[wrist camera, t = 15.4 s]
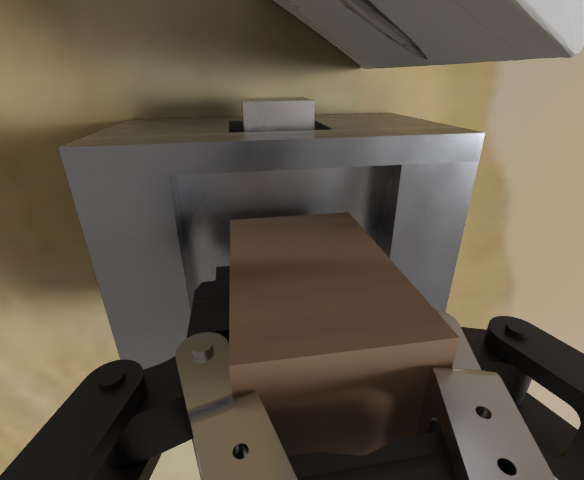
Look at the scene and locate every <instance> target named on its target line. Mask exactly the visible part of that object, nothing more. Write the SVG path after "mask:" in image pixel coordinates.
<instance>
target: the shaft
mask: <svg viewBox="0 0 584 480" xmlns="http://www.w3.org/2000/svg"><path fill="white" fill-rule="evenodd" d="M241 110H242V125H243V132H269V131H301V130H314V122H315V100H311V99H307V98H304V97H274V98H241Z"/></svg>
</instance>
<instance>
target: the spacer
mask: <svg viewBox="0 0 584 480" xmlns="http://www.w3.org/2000/svg"><path fill="white" fill-rule="evenodd" d="M459 338H460V337H459V336H458V335H457V334H456V333H455V332H454V330H453V329H452V328H451V327H450V326H449V325H448V324H447V323H446V321H445V320H444V319H443V318H442V317H441V316H440V315H439V314H438V312H437V311H436V310H435V309H434V308H433V307H432V306H431V305H430V303H429V302H428V301H427V300H426V299H425V298H424V297H423V296H422V294H421V293H420V292H419V291H418V290H417V289H416V288H415V287H414V285H413V284H412V283H411V282H410V281H409V280H408V279H407V278H406V276H405V275H404V274H403V273H402V272H401V271H400V270H399V268H398V267H397V266H396V265H395V264H394V263H393V262H392V261H391V259H390V258H389V257H388V256H387V255H386V254H385V253H384V252H383V250H382V249H381V248H380V247H379V246H378V245H377V244H376V243H375V241H374V240H373V239H372V238H371V237H370V236H369V235H368V234H367V232H366V231H365V230H364V229H363V228H362V227H361V226H360V225H359V223H358V222H357V221H356V220H355V219H354V218H353V217H352V216H351V214H350V213H349V212H345V213H330V214H315V215H299V216H284V217H268V218H253V219H237V220H230V298H229V371H230V380H231V388H232V397H235V396H238V395H241V394H244V393H247V392H251V391H254V390H255V391H256V392H257V394H258V395H259V397H260V399H261V402H262V404H263V406H264V408H265V410H266V412H267V415H268V417H269V419H270V421H271V423H272V425H273V427H274V430H275V432H276V434H277V436H278V438H279V440H280V443H281V445H282V447H283V449H284V451H285V453H286V455H287V456H291V455H297V454H303V453H310V452H316V451H317V452H327V453H338V454H348V455H359V456H363V455H367V454H369V453H371V452H373V451H375V450H377V449H379V448H381V447H383V446H385V445H387V444H389V443H391V442H393V441H395V440H398V439H400V438H402V437H407V436H413V435H416V432H417V428H418V423H419V418H420V414H421V409H422V405H423V400H424V396H425V391H426V387H427V382H428V377H429V373H430V368H431V366H436V367H448V368H452V366H453V362H454V358H455V354H456V350H457V346H458V342H459Z"/></svg>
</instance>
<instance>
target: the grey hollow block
mask: <svg viewBox="0 0 584 480" xmlns="http://www.w3.org/2000/svg"><path fill="white" fill-rule="evenodd" d="M484 136H485V133H484V132H479V131H475V130H470V129H465V128H460V127H456V126H451V125H446V124H442V123H437V122H432V121H427V120H423V119H418V118H413V117H408V116H404V115H399V114H394V113H366V114H325V115H315V122H314V130H301V131H269V132H243V125H242V117H201V118H159V119H129V120H126V121H124V122H121V123H119V124H116V125H113V126H111V127H108V128H106V129H103V130H101V131H98V132H96V133H93V134H91V135H88V136H86V137H83V138H80V139H78V140H75V141H73V142H70V143H68V144H65V145H63V146H60V147H58V149H59V153H60V156H61V159H62V163H63V166H64V170H65V173H66V176H67V180H68V183H69V187H70V190H71V193H72V197H73V200H74V204H75V207H76V210H77V214H78V217H79V221H80V224H81V227H82V231H83V234H84V238H85V241H86V245H87V248H88V251H89V255H90V258H91V262H92V265H93V268H94V272H95V275H96V279H97V282H98V285H99V289H100V292H101V296H102V299H103V302H104V306H105V309H106V313H107V316H108V319H109V323H110V326H111V330H112V333H113V336H114V340H115V343H116V347H117V350H118V353H119V357H120V360H133V361H136V362H137V363H139V364H140V365H141V366H142V368H143V370H144V369H147V368H150V367H152V366H155V365H158V364H161V363H163V362H165V361H167V360H169V359H171V358H172V357H174V356H175V353H176V350H177V348H178V346H179V345H180V344H181V343H182V342H183V341H184V340H185V339H186V338H187V332H188V326H189V321H190V315H191V310H192V303H193V297H194V292H195V290H196V289H197V287H198V286H199V285H200V284H201V283H202V282H207V281H215V279H216V267H221V266H230V220H237V219H253V218H268V217H284V216H299V215H315V214H330V213H345V212H349V213H350V214H351V216H352V217H353V218H354V219H355V220H356V221H357V222H358V223H359V225H360V226H361V227H362V228H363V229H364V230H365V231H366V232H367V234H368V235H369V236H370V237H371V238H372V239H373V240H374V241H375V243H376V244H377V245H378V246H379V247H380V248H381V249H382V250H383V252H384V253H385V254H386V255H387V256H388V257H389V258H390V259H391V261H392V262H393V263H394V264H395V265H396V266H397V267H398V268H399V270H400V271H401V272H402V273H403V274H404V275H405V276H406V278H407V279H408V280H409V281H410V282H411V283H412V284H413V285H414V287H415V288H416V289H417V290H418V291H419V292H420V293H421V294H422V296H423V297H424V298H425V299H426V300H427V301H428V302H429V303H430V305H431V306H432V307H433V308H434V309H437V310H440V311H443V312H445V311H446V306H447V302H448V297H449V293H450V288H451V284H452V279H453V275H454V270H455V266H456V261H457V257H458V252H459V248H460V244H461V239H462V235H463V230H464V226H465V221H466V217H467V212H468V208H469V203H470V199H471V194H472V190H473V186H474V181H475V177H476V172H477V168H478V163H479V159H480V154H481V150H482V145H483V141H484Z"/></svg>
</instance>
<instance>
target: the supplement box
mask: <svg viewBox="0 0 584 480" xmlns="http://www.w3.org/2000/svg"><path fill="white" fill-rule="evenodd" d="M272 1H274V2H275V3H277V4H278V5H280V6H281V7H282V8H284V9H285V10H287V11H288V12H290V13H291V14H293V15H294V16H295V17H297V18H298V19H299V20H301V21H302V22H304V23H305V24H306V25H308V26H309V27H310V28H312V29H313V30H314V31H316V32H317V33H319V34H320V35H321V36H322V37H324V38H325V39H326V40H328V41H329V42H330V43H332V44H333V45H334V46H336V47H337V48H338V49H340V50H341V51H342V52H344V53H345V54H346V55H347V56H349V57H350V58H351V59H352V60H354V61H355V62H356V63H357V64H359V65H360V66H361V67H362V68H364V69H372V68H393V67H410V66H428V65H446V64H460V63H475V62H487V61H508V60H524V59H536V58H555V57H566V58H569V57H573V56H575V55H577V54H578V53H579V52H580V51H581V49H582V48H583V47H584V0H272Z"/></svg>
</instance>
